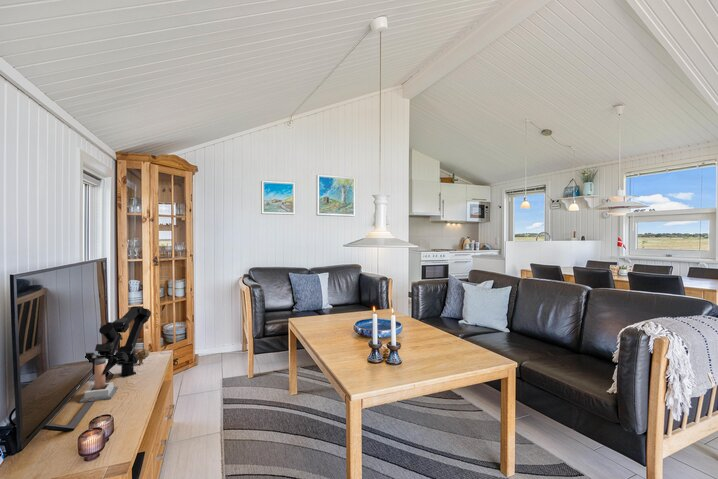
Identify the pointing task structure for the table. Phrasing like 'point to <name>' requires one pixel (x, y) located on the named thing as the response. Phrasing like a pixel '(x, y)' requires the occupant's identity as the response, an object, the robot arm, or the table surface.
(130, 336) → the robot arm
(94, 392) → the socket block
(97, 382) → the peg
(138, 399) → the table surface
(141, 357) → the lion figurine
